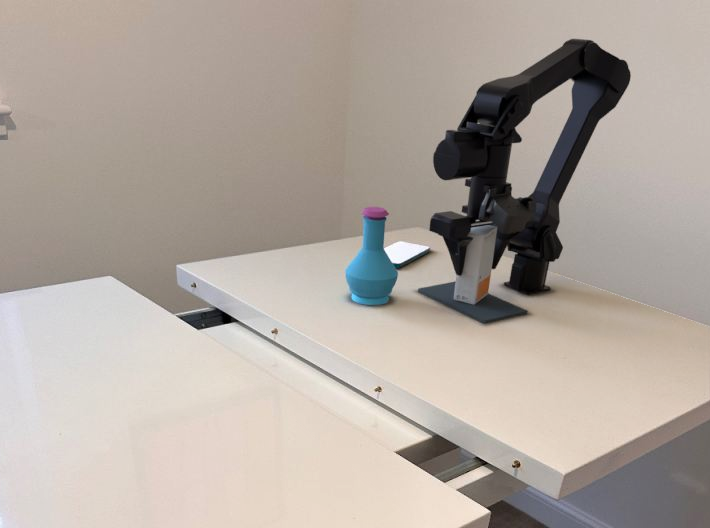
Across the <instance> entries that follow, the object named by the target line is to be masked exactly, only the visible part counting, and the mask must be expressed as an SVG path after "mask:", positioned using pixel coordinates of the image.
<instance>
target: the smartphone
mask: <svg viewBox="0 0 710 528" xmlns="http://www.w3.org/2000/svg"><path fill="white" fill-rule="evenodd" d="M383 248H384V250H385V252H386V253H387V255H388V257H389V258H390V260H391V262H392V263H393V265H394V266H395V268H402V267H404V266H405V265H408V264H409V263H411V262H413V261H414V260H417V259H419V258H421V257H422V256H424V255H426V254H428V253H429V252H431V246H429V245H422V244H418V243H412V242H407V241H401V240H399V241H396V242H393V243H391V244H389V245H387V246H384V247H383Z"/></svg>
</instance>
